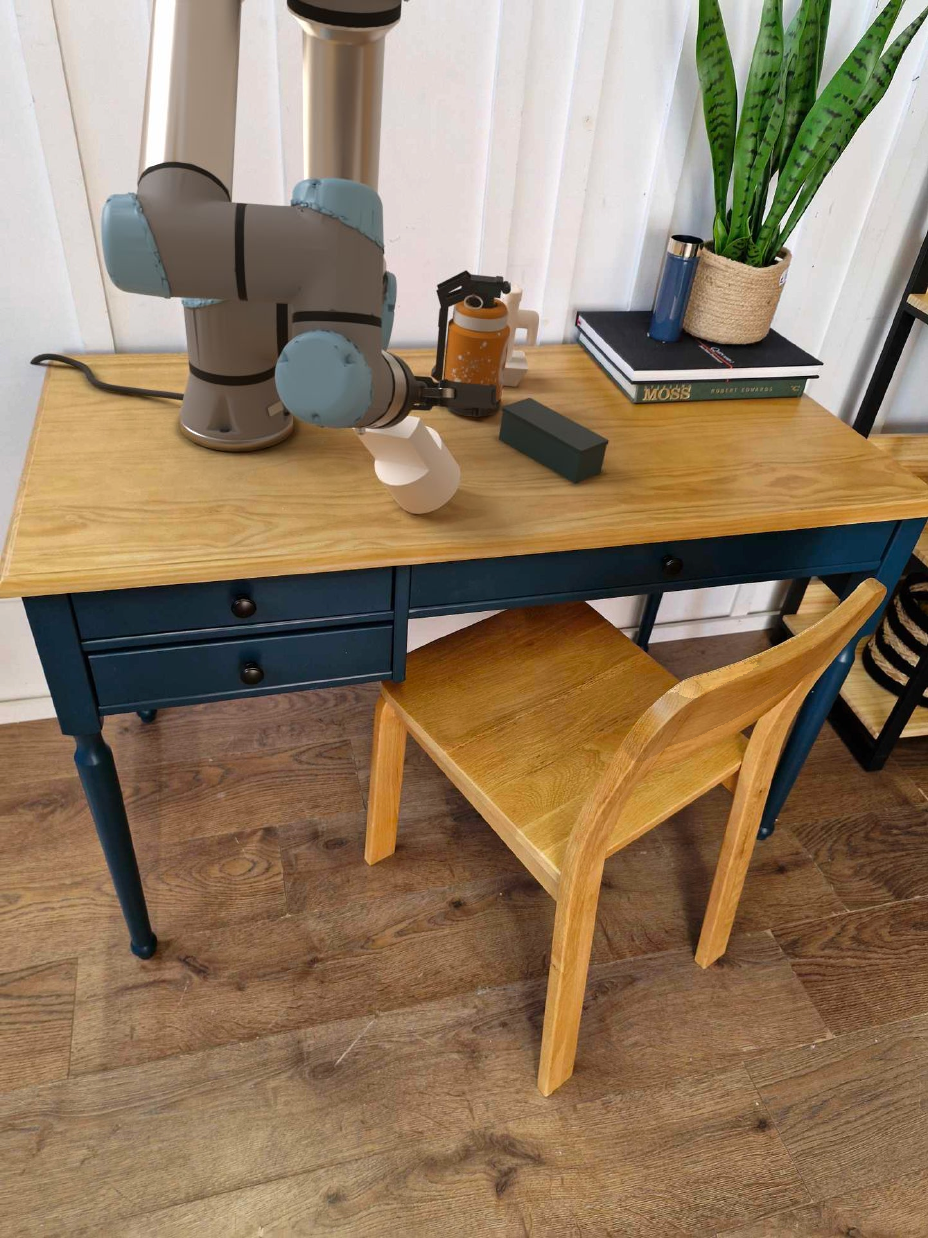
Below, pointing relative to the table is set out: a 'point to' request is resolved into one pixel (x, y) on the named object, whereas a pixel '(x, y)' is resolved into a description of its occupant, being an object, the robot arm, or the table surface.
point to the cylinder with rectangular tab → (413, 464)
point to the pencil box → (552, 439)
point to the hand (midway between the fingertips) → (421, 397)
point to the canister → (473, 333)
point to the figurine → (516, 319)
